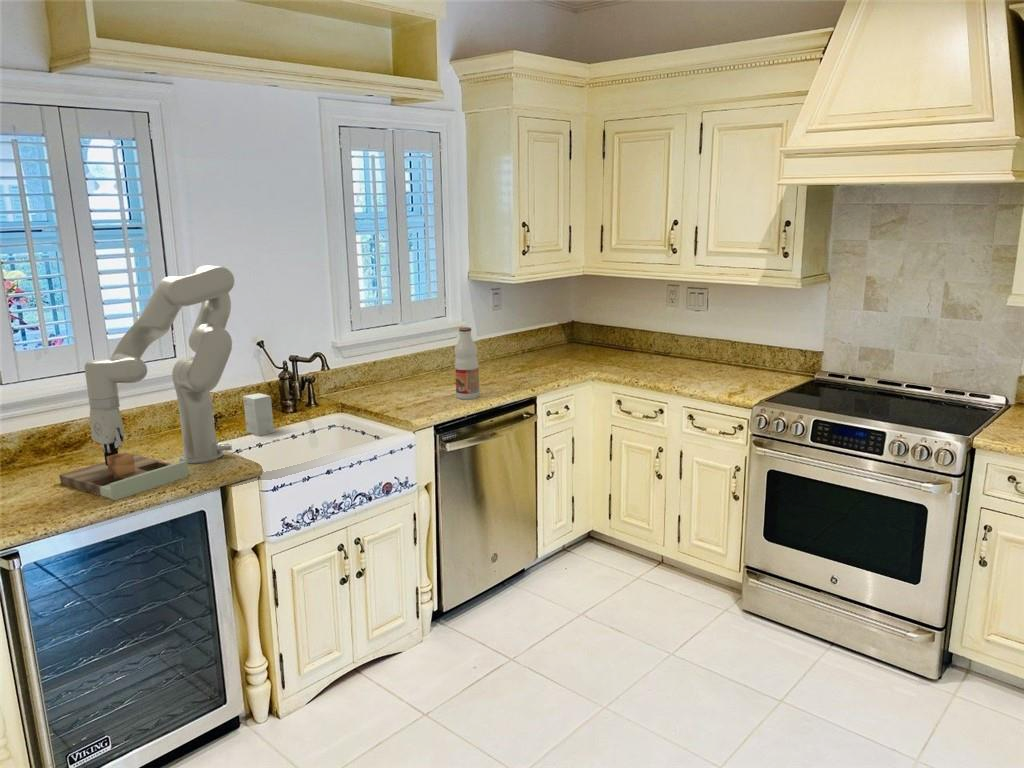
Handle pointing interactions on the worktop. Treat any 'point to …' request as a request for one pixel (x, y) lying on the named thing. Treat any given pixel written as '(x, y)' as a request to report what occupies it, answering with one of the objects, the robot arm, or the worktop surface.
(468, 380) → the fruit juice
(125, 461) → the block
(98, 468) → the track
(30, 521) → the worktop surface
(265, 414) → the small box
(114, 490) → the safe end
